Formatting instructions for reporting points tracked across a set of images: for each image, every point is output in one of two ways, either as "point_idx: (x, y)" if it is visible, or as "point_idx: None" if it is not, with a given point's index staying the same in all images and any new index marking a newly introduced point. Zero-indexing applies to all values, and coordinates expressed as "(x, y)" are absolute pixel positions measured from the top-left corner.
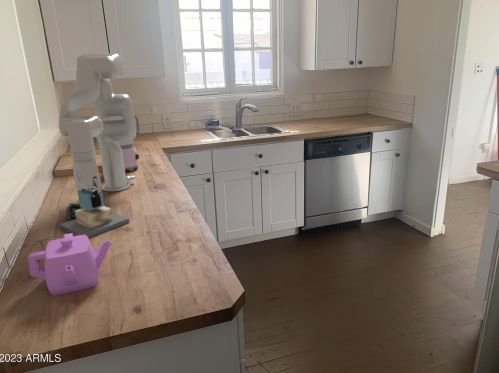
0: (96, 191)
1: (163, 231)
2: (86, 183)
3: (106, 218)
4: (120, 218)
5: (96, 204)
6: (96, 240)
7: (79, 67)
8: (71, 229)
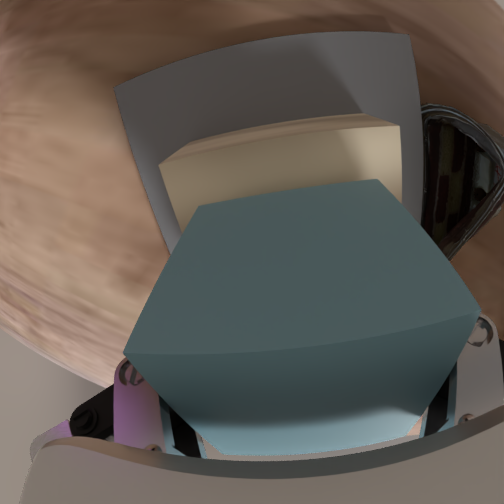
0: (73, 428)
1: (83, 333)
2: None
3: None
4: None
5: None
6: (88, 142)
7: None
8: (258, 44)
